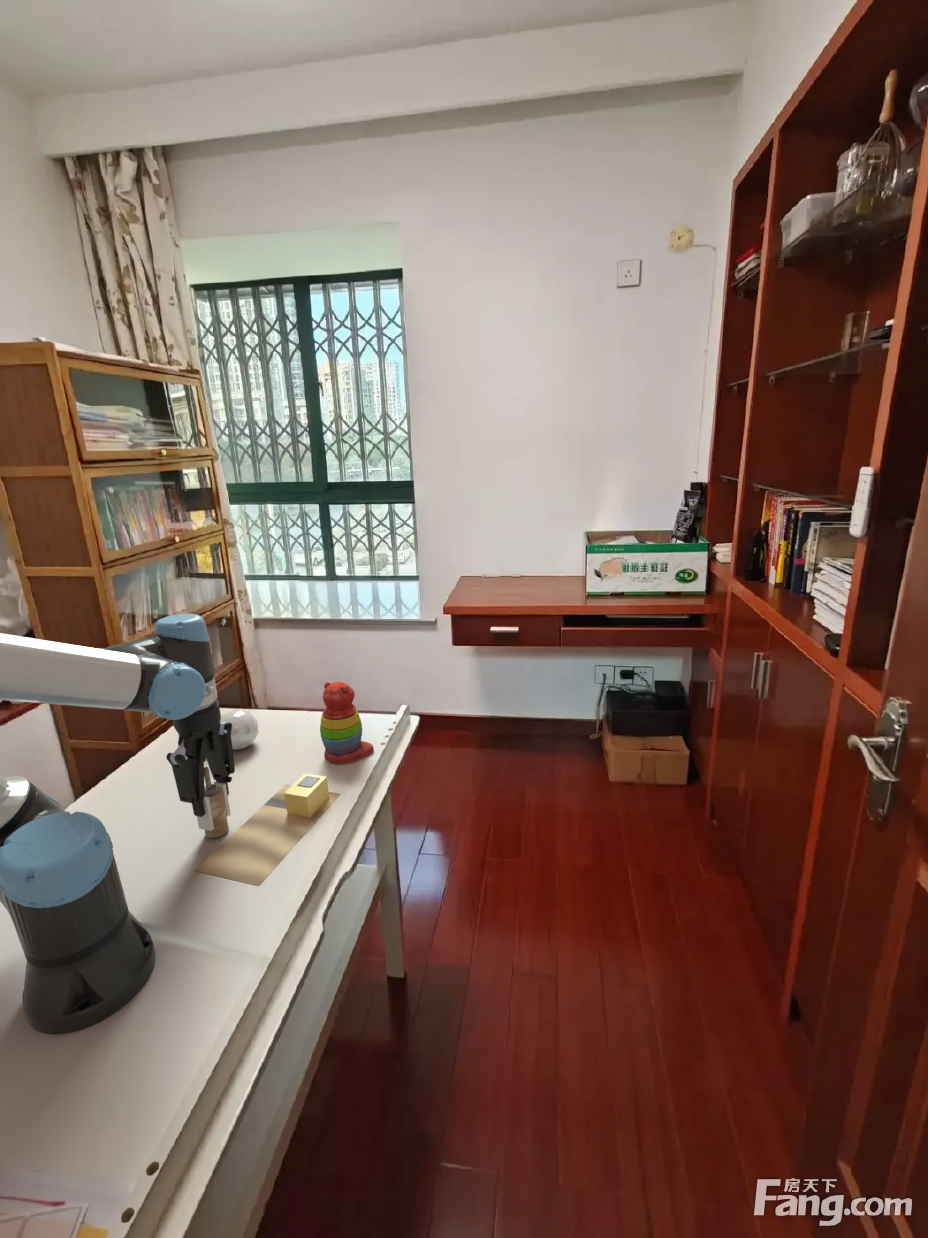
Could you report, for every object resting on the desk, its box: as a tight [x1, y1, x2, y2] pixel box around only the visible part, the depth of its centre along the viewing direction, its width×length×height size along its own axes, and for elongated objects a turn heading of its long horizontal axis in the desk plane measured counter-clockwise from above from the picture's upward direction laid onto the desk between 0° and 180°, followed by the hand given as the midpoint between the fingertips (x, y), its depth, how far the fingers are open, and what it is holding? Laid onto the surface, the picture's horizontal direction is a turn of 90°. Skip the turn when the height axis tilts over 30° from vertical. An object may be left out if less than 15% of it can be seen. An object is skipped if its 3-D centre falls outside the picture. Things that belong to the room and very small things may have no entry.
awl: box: [204, 766, 230, 839], centre depth 105 cm, size 4×4×13 cm
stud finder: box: [284, 773, 330, 818], centre depth 113 cm, size 7×5×5 cm
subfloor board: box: [194, 784, 341, 887], centre depth 107 cm, size 26×18×1 cm
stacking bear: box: [319, 681, 375, 765], centre depth 131 cm, size 11×10×18 cm
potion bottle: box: [220, 708, 260, 751], centre depth 138 cm, size 9×10×15 cm
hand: (215, 821), depth 106 cm, fingers closed on awl, 4 cm apart
